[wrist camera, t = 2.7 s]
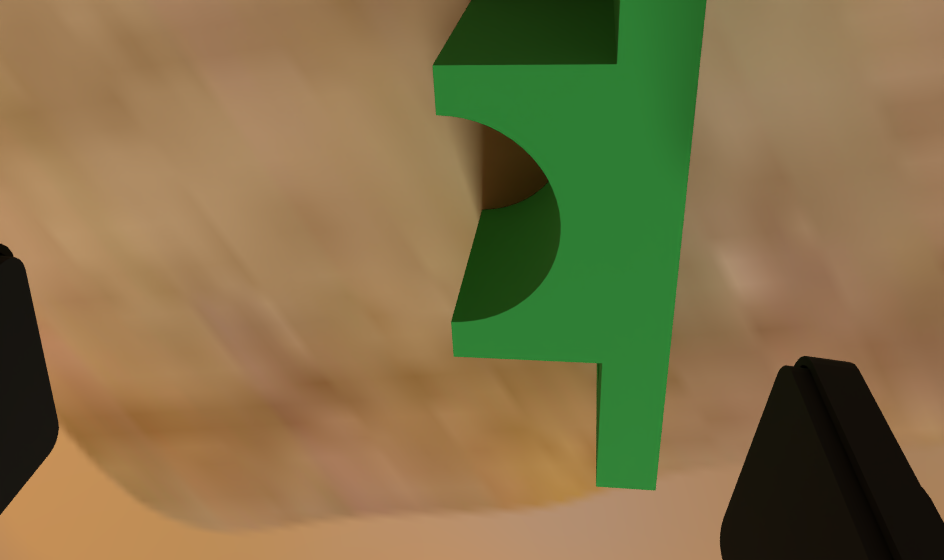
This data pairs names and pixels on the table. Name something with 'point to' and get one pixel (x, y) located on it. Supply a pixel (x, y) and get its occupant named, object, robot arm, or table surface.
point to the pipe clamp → (582, 197)
